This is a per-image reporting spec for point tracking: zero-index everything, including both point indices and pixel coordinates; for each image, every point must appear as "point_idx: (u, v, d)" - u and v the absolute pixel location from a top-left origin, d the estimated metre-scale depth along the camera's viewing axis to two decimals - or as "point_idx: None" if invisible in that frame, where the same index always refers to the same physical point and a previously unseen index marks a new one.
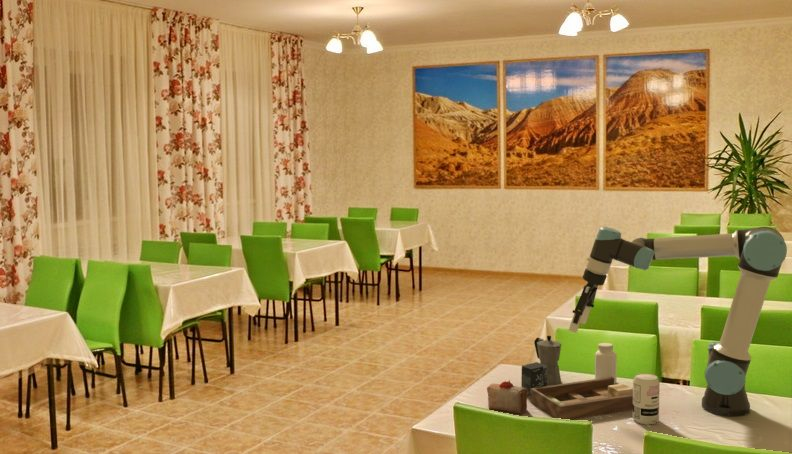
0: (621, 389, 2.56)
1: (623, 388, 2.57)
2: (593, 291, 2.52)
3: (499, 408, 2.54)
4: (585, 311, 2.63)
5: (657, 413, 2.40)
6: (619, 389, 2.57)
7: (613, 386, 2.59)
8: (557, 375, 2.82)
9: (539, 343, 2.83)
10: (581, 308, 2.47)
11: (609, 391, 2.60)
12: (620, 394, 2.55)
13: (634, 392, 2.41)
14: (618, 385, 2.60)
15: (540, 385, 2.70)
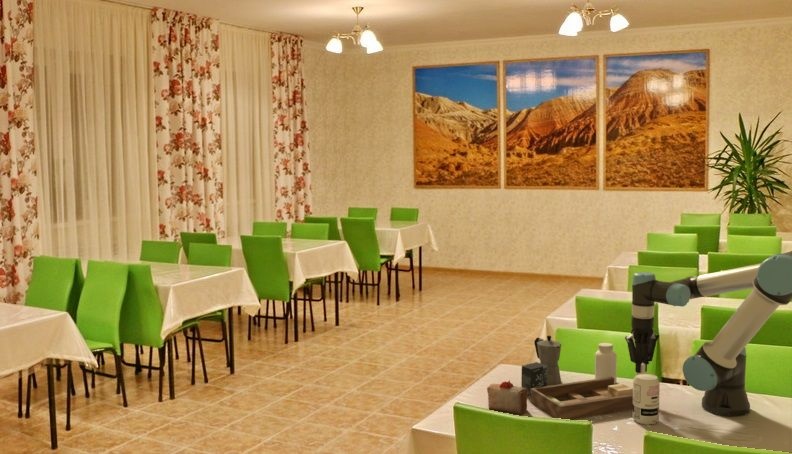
0: (621, 389, 2.56)
1: (623, 388, 2.57)
2: (640, 337, 2.57)
3: (499, 408, 2.54)
4: None
5: (657, 413, 2.40)
6: (619, 389, 2.57)
7: (613, 386, 2.59)
8: (557, 375, 2.82)
9: (539, 343, 2.83)
10: (633, 357, 2.58)
11: (609, 391, 2.60)
12: (620, 394, 2.55)
13: (634, 392, 2.41)
14: (618, 385, 2.60)
15: (540, 385, 2.70)
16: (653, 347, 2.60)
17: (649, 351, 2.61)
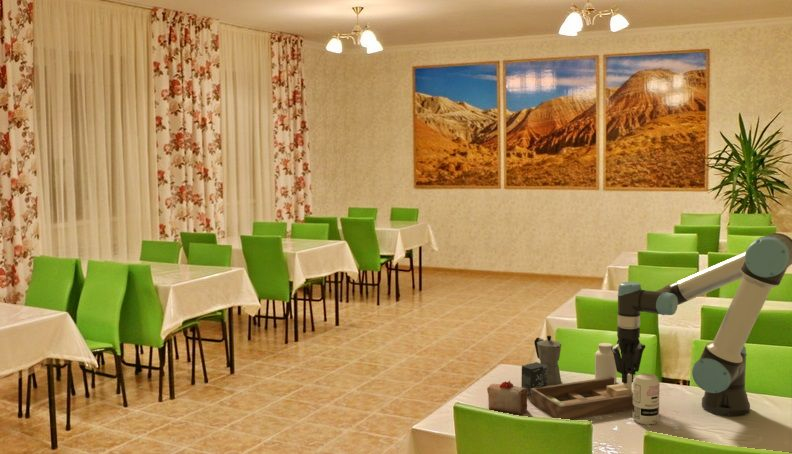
0: (619, 390, 2.55)
1: (622, 388, 2.57)
2: (626, 347, 2.56)
3: (499, 408, 2.54)
4: None
5: (657, 413, 2.40)
6: (617, 389, 2.56)
7: (612, 386, 2.59)
8: (557, 375, 2.82)
9: (539, 343, 2.83)
10: (619, 368, 2.57)
11: (608, 391, 2.60)
12: (618, 394, 2.55)
13: (634, 392, 2.41)
14: (617, 385, 2.60)
15: (540, 385, 2.70)
16: (639, 357, 2.59)
17: (635, 361, 2.59)
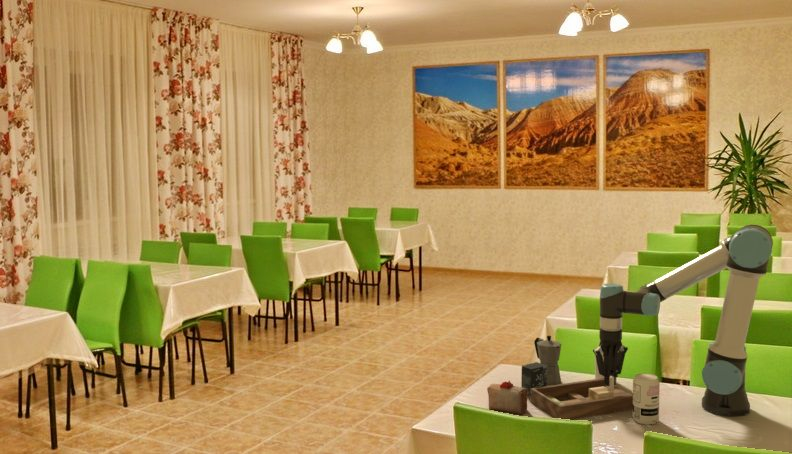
0: (601, 392, 2.53)
1: (604, 391, 2.54)
2: (608, 350, 2.54)
3: (499, 408, 2.54)
4: None
5: (657, 413, 2.40)
6: (599, 391, 2.54)
7: (594, 389, 2.57)
8: (557, 375, 2.82)
9: (539, 343, 2.83)
10: (601, 370, 2.55)
11: (590, 394, 2.57)
12: (600, 397, 2.53)
13: (634, 392, 2.41)
14: (599, 388, 2.58)
15: (540, 385, 2.70)
16: (622, 360, 2.56)
17: (618, 364, 2.57)
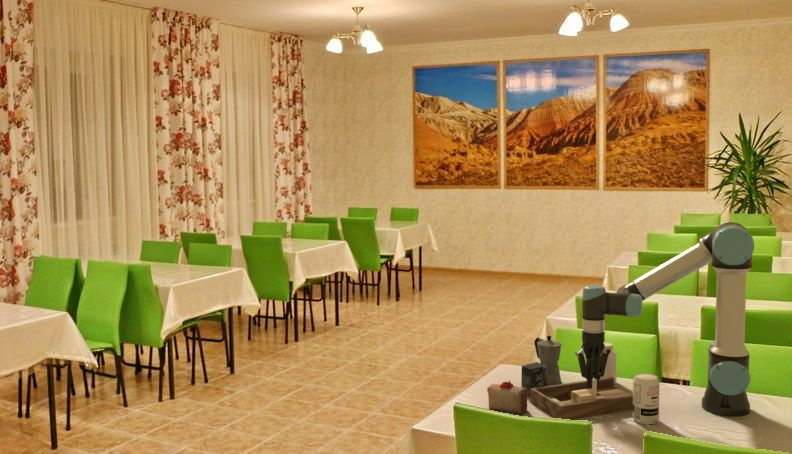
0: (584, 395, 2.51)
1: (586, 394, 2.52)
2: (591, 352, 2.51)
3: (499, 408, 2.54)
4: None
5: (657, 413, 2.40)
6: (582, 394, 2.52)
7: (576, 391, 2.55)
8: (557, 375, 2.82)
9: (539, 343, 2.83)
10: (583, 373, 2.52)
11: (572, 397, 2.55)
12: (583, 400, 2.50)
13: (634, 392, 2.41)
14: (582, 390, 2.56)
15: (540, 385, 2.70)
16: (604, 362, 2.54)
17: (601, 366, 2.55)
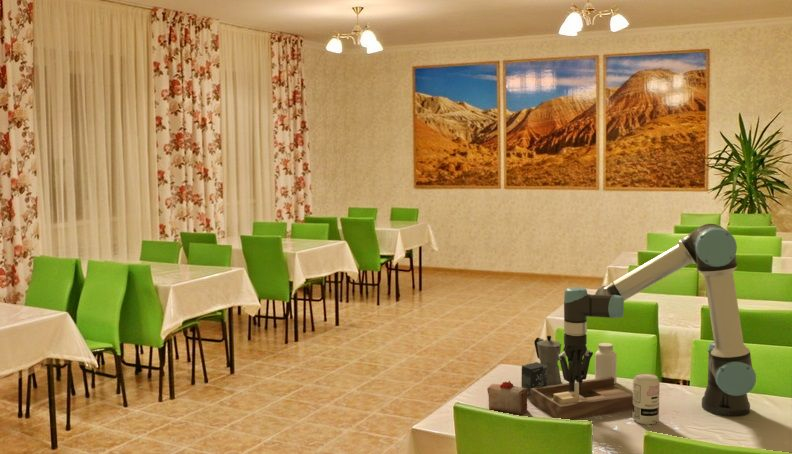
0: (566, 398, 2.49)
1: (568, 397, 2.50)
2: (573, 355, 2.49)
3: (500, 408, 2.54)
4: None
5: (657, 413, 2.40)
6: (564, 397, 2.49)
7: (558, 394, 2.52)
8: (557, 375, 2.82)
9: (539, 343, 2.83)
10: (565, 376, 2.50)
11: (554, 399, 2.53)
12: (565, 403, 2.48)
13: (634, 392, 2.41)
14: (564, 393, 2.53)
15: (540, 385, 2.70)
16: (587, 365, 2.52)
17: (583, 369, 2.52)
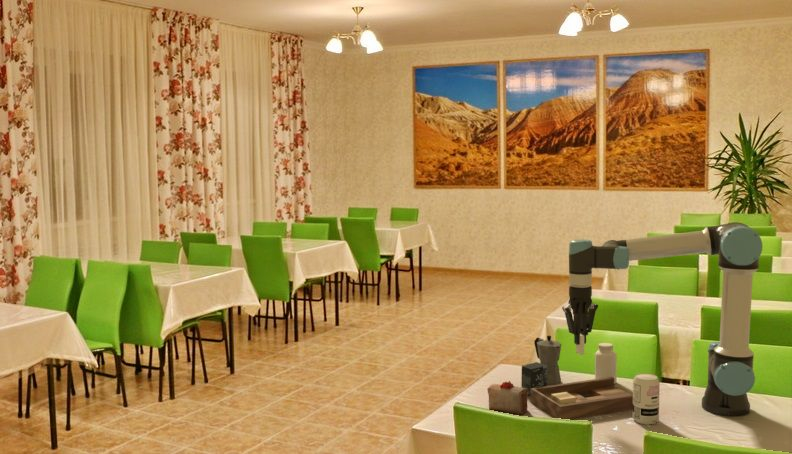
0: (563, 398, 2.48)
1: (566, 397, 2.49)
2: (578, 307, 2.48)
3: (500, 409, 2.54)
4: None
5: (657, 413, 2.40)
6: (561, 397, 2.49)
7: (556, 394, 2.52)
8: (557, 375, 2.82)
9: (539, 343, 2.83)
10: (571, 328, 2.49)
11: None
12: (562, 403, 2.48)
13: (634, 392, 2.41)
14: (561, 393, 2.53)
15: (540, 385, 2.70)
16: (592, 317, 2.50)
17: (588, 322, 2.51)
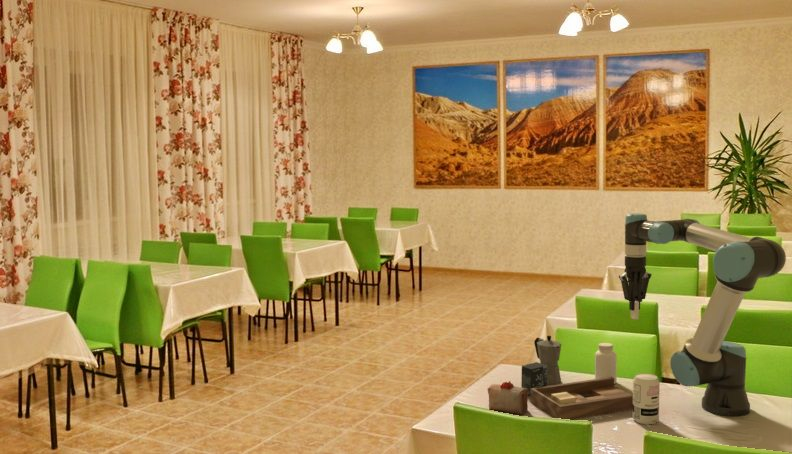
0: (563, 398, 2.48)
1: (566, 397, 2.49)
2: (633, 275, 2.69)
3: (500, 409, 2.53)
4: None
5: (657, 413, 2.40)
6: (561, 397, 2.49)
7: (556, 394, 2.52)
8: (557, 375, 2.82)
9: (539, 343, 2.83)
10: (626, 295, 2.70)
11: None
12: (562, 403, 2.48)
13: (634, 392, 2.41)
14: (561, 393, 2.53)
15: (540, 385, 2.70)
16: (646, 285, 2.72)
17: (642, 289, 2.72)
